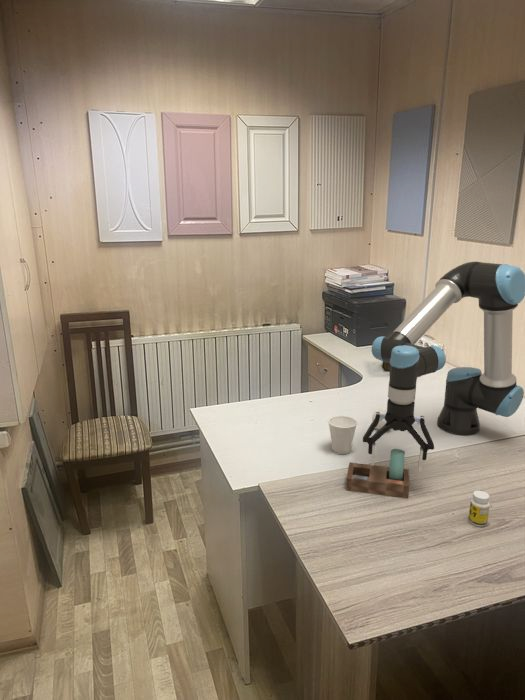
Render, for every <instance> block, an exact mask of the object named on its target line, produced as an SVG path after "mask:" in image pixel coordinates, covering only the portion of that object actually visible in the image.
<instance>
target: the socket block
mask: <svg viewBox="0 0 525 700" xmlns="http://www.w3.org/2000/svg"><path fill="white" fill-rule="evenodd" d="M389 468H390V466H386V465H385V466H383V465H377V464H374V466H372V465H371V464H367V463H357V462H353V461H352V462H351V461H349V464H348V469H347V473H346V480H345V482H346V483H345V491H348V492H349V491H351V492H356V493H366V494H371V495H379V496H387V497H395V498H402V499H409V493H410V470H409V469H408V468H403V479H402V481H398V480H390V479H389Z"/></svg>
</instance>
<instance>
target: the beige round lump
mask: <svg viewBox="0 0 525 700" xmlns="http://www.w3.org/2000/svg"><path fill="white" fill-rule="evenodd" d="M376 412H380V414H386V413H387V410H384V409H377V410H375V411H374V413H373V414H372V418H371V420H372V421H371V423H372V422H373V421H374V419H375V416H376ZM386 423H387V422H386V420H385V419H382V421H379V423H378V425H377V426H376V428H375V429H377V430H380V429H381V428H382V427H383V426H384V425H385V424H386Z"/></svg>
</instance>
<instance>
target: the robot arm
mask: <svg viewBox="0 0 525 700" xmlns="http://www.w3.org/2000/svg"><path fill="white" fill-rule="evenodd" d="M434 287H435V288H434V289H433V290H432V291H431V292H429V294H428V295H427V296H426V297H425V298H424V299H423V300H422V301H421V303H419V304H418V306H417V307H415V308H414V310H412V312H411V313H410V314H409V315H408V316H407V317H406V318H405V319H404V320H403V321H402V322H401V323H400V324H399V325H398V326H397V327H396V328H395V329H394V330H393V331H392V333H390V334H389V335H388V336H382V335H381V336H378V337H376V338H375V339H374V340H373V342H372V345H371V354H372V356H373V357H374V358H375V359H376V360H378V361H381V362H382V363H383V362H387V363H390V372H389V380H388V388H387V390H388V391H387V405H386V411H387V413H386V414H380V412H376V411H375V412H376V416H375V419H374V421H373V422H372V421H371V423H370V425H369V426H368V428H367V430H366V431H365V432H364V434H363V436H362V442H363V443H367V444H368V448H367V453H368V455H371V463H370V465H372V466H374V465H375V457H376V456H375V454H376V442H377V441H379V439H381V437H382V436H384V435H385V434H387V432H389V431H391V430H392V431H395V432H397V431H400V432H405V431H407V432H408V433H409V435H411V436H412V438H413V439H414V440H415V442H416V443H417V444H418V446H420V447H419V455H418V465H417V467H418V472H422V467H423V461H427V456H428V451H429V450H434V449H435V444H434V442H433V439H432V437H431V435H430V431H429V430H428V428H427V426H426V423H425V422H426V421H425V416H424V415H420V416H417V417H415V415H414V414H415V405H416V404H415V401H416V393H417V391H416V390H417V389H416V388H417V379H418V378H420V377H422V376H425V375H429V374H432V373H433V374H434V373H435V372H437V371H439V370H441V369H443V368H444V366H445V365H446V361H447V359H446V358H447V357H446V354H445V352H444V350H443V349H442V348H441V347H439V346H437V345H431V346H429V345H428V346H426V347H424V346H422V345H421V346H419V345H417V344H416V343H417V342H418V341H419V340H421V338H422V337H423V336H424V335H425V333H427V331H428V330H429V329H431V327H432V326H433V325H434V324H435V323H436V322H437V321H438V320H439V319H440V318H441V316H442V315H444V313H445V312H446V311H447V310H449V308H450V307H452V305H453V304H456V303H459V302H460V301H461V300H462V299H464V298H468V297H471V298H475V299H478V307H479V309H481V310H482V312H483V363H484V364H483V365H484V367H483V372H482V370H481V369H480V368H477V367H471V366H458V367H455V368H454V367H453V368H451V369H450V370H448V372H447V374H446V378H445V379H446V380H445V390H444V391H445V392H444V399H443V401H444V402H443V406H442V409H441V411H440V413H439V415H438V416H437V421H436V425H437V427H438V428H439V429H440V430H442V431H444V432H446V433H450V434H452V435H456V436H457V435H458V436H471V435H475V434H478V432H479V431H480V426H481V424H480V418H479V415H478V410H479V409H480V410H482V411H485V412H489V413H492V414H494V415H495V416H501V417H504V418H508V417H509V418H510V417H511V416H513V415H514V414H515V413H516V412H517V410H518V409H519V408H520V406H521V405H522V402H523V400H524V396H525V394H524V393H525V390H524V388H523V387H522V386H521V385H518V384H517V377H516V375H515V374H513V373H512V371H513V370H512V369H513V368H512V367H513V365H512V364H513V363H512V362H513V315H514V314H513V312H514V310H516V308H517V307H518V306H519V304H521V302H522V301H523V300H524V298H525V272H524V271H523V270H522V269H521V268H520V267H519V266H515V265H510V264H507V263H506V264H505V263H504V264H503V263H502V264H501V263H493V262H492V263H491V262H481V261H468V262H465V263H462V264H460V265H457V266H456V267H454V268H452V269H450V270H449V271H448V272H446V273H445V274H444V275H443V276H441V277H440V278H439V280H438V281H437V282H435V285H434ZM382 419H385V420H386V422H387V423H386V424H385V425H384V426H383V427H382V428H381V429H380V430H379V429H377V428H376V426H377V425H378V423H379V421H382ZM415 422H416V424H417V425H418V426H420V429H421V431H422V434H423V436H424V438H425V440H426V441H425V440H424V439H423V438H422V436H421V435H420V434H419V432H417V430H416V429H415V427H414V426H413V424H414V423H415ZM375 429H377V431H376V432H375V433H374V434H373V432H374V430H375ZM372 434H373V435H372Z"/></svg>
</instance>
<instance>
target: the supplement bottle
mask: <svg viewBox="0 0 525 700" xmlns="http://www.w3.org/2000/svg"><path fill="white" fill-rule="evenodd" d="M469 504H470V505H469V511H468V512H469V513H468V521H469V523H470V524H471V525H473V526H476V527H485V526H487V524H488V519H489V514H490V506H491V504H490V494H488V493H487V492H485V491H484V490H483V491H482V490H474V491H473V493H472V497H471V499H470V503H469Z"/></svg>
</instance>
